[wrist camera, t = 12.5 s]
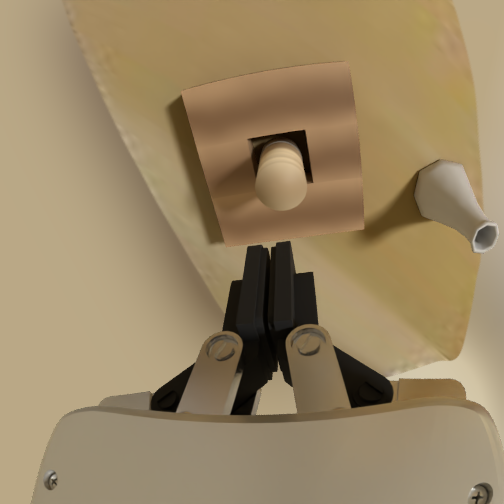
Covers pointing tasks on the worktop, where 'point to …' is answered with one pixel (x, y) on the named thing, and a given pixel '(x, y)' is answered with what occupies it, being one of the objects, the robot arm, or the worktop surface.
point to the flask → (454, 204)
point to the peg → (281, 175)
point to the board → (273, 122)
